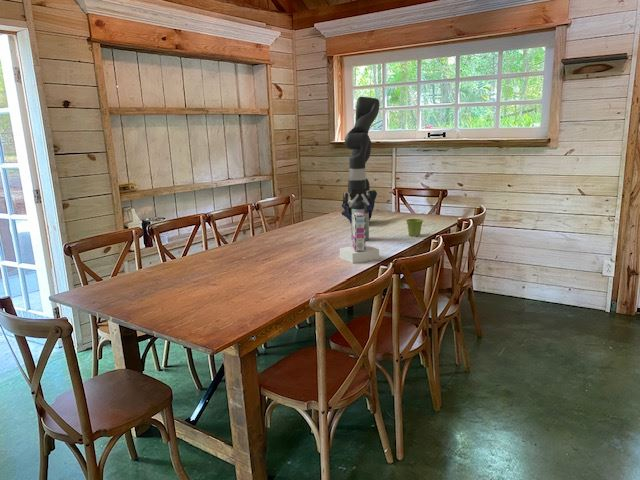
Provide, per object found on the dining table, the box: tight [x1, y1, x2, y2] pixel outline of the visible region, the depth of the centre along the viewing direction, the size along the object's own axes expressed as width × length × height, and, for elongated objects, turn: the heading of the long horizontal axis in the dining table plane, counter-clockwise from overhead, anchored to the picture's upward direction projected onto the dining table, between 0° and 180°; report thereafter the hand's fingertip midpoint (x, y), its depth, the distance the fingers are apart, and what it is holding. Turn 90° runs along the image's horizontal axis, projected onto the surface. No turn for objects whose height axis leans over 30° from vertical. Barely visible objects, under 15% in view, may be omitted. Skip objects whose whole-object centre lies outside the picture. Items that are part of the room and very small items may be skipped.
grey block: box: [339, 243, 380, 264], centre depth 219 cm, size 12×14×5 cm
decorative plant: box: [341, 189, 378, 224], centre depth 303 cm, size 21×26×30 cm
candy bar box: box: [352, 212, 366, 252], centre depth 216 cm, size 11×5×16 cm, turn 2°
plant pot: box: [405, 218, 424, 237], centre depth 261 cm, size 9×9×9 cm
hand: (358, 214), depth 214 cm, fingers open, 8 cm apart
